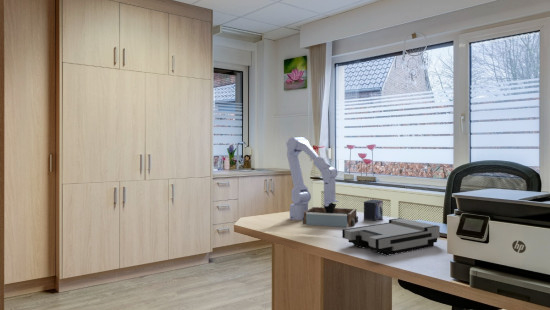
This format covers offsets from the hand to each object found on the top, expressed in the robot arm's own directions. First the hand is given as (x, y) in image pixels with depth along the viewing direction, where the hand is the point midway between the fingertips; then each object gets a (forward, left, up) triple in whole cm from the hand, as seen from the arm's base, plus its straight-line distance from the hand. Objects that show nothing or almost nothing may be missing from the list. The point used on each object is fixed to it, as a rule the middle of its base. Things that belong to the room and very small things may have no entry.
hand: (330, 218), depth 213 cm
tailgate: (0, -7, -2) cm, 7 cm away
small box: (+19, +16, -3) cm, 25 cm away
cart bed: (0, +1, -3) cm, 3 cm away
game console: (+33, -33, -4) cm, 47 cm away
